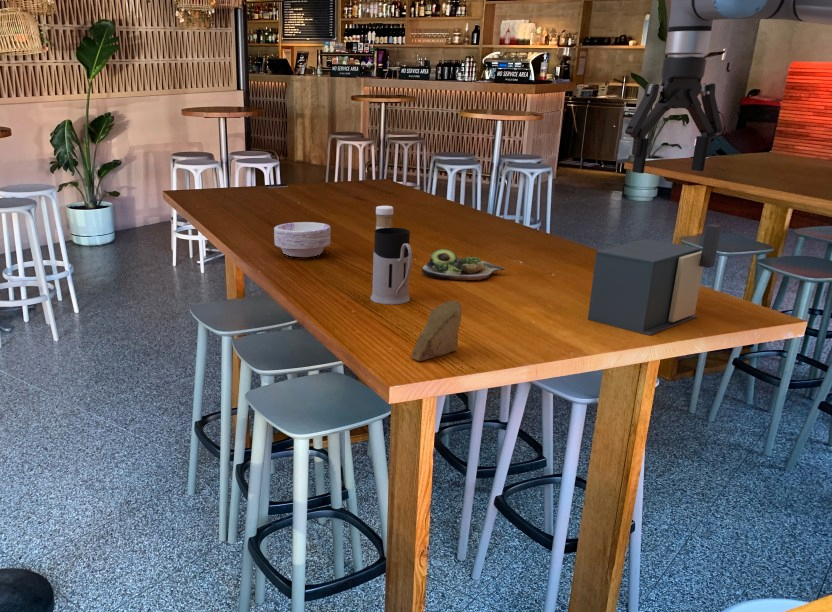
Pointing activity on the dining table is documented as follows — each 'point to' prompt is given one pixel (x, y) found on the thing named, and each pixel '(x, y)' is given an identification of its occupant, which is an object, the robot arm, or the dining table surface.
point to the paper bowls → (302, 238)
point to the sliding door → (693, 275)
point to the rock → (439, 332)
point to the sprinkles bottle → (384, 217)
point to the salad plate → (457, 267)
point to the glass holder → (391, 266)
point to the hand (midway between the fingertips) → (667, 171)
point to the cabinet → (636, 285)
